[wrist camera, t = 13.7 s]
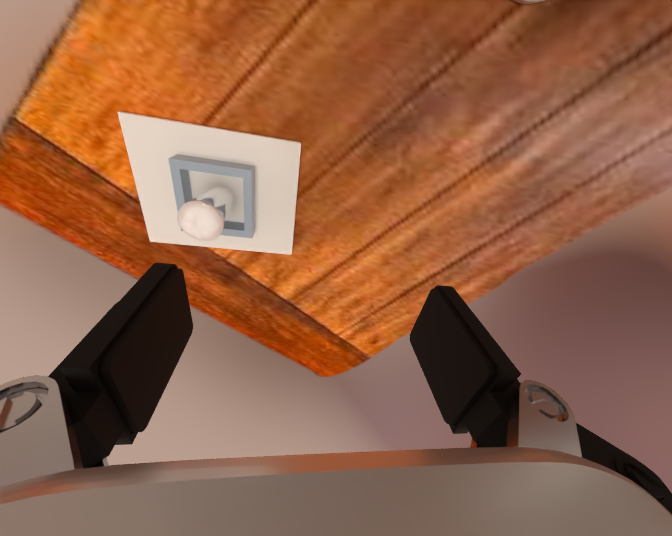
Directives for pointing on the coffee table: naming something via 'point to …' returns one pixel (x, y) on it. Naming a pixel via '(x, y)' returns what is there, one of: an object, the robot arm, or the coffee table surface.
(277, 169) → the dock
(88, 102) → the coffee table surface
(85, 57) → the coffee table surface
